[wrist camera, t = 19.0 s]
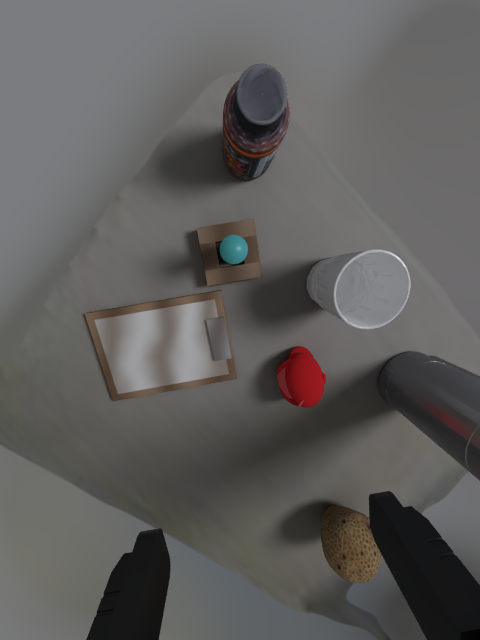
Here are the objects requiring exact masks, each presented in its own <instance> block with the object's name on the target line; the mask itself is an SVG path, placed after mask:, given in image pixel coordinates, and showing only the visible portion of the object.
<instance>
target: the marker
mask: <svg viewBox="0 0 480 640" xmlns="http://www.w3.org/2000/svg"><path fill="white" fill-rule="evenodd" d="M247 253H248V246H247V243H246V241H245V240H244V239H243V238H242V237H240V236H238V235H229V236H227V237H226V238H224V239H223V241H222V242H221V244H220V254H221V257H222V258H223V260H224V261H226V262H227V263H230V264H238V263H240V262H242V261H243V260H244V259H245V258H246V256H247Z"/></svg>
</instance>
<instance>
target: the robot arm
mask: <svg viewBox="0 0 480 640" xmlns="http://www.w3.org/2000/svg"><path fill="white" fill-rule="evenodd" d="M378 385H379V391H380V393H381V395H382V397H383V398H384V399H385V400H386V401H387V402H388V403H389V404H391V405H392V406H393V407H394V408H395V409H396V410H398V411H399V412H400V413H401V414H402V415H403V416H404V417H406V418H407V419H408V420H409V421H410V422H411V423H413V424H414V425H415V426H416V427H417V428H419V429H420V430H421V431H422V432H423V433H424V434H426V435H427V436H428V437H429V438H430V439H431V440H433V441H434V442H435V443H436V444H437V445H438V446H440V447H441V448H442V449H443V450H444V451H445V452H447V453H448V454H449V455H450V456H451V457H452V458H454V459H455V460H456V461H457V462H458V463H460V464H461V465H462V466H463V467H464V468H465V469H467V470H468V471H469V472H470V473H471V474H472V475H474V476H475V477H476V478H477V479H478V480H480V376H478V375H476V374H474V373H472V372H469V371H467V370H465V369H463V368H460V367H458V366H456V365H454V364H451V363H449V362H447V361H445V360H443V359H440V358H438V357H436V356H432V357H429V356H427V355H425V354H423V353H419V352H405V353H402V354H399V355H397V356H396V357H394V358H392V359H391V360H390V361H389V362H388V363H387V364H386V365H385V367H384V368H383V370H382V372H381V374H380V377H379V384H378ZM369 515H370V528H371V532H372V535H373V538H374V540H375V543H376V545H377V547H378V549H379V551H380V552H381V554H382V556H383V558H384V560H385V562H386V564H387V565H388V567H389V569H390V571H391V573H392V575H393V577H394V579H395V580H396V582H397V584H398V586H399V588H400V590H401V592H402V594H403V595H404V597H405V599H406V601H407V603H408V605H409V606H410V609H411V610H412V612H413V614H414V616H415V618H416V620H417V622H418V623H419V625H420V627H421V629H422V631H423V633H424V635H425V637H426V638H427V640H480V585H479V584H478V583H477V581H476V580H475V579H474V577H473V576H472V575H471V574H470V572H469V571H468V570H467V569H466V567H465V566H464V565H463V564H462V562H461V561H460V560H459V558H458V557H457V556H455V555H454V553H453V551H452V550H451V548H450V547H449V546H448V544H447V543H446V542H445V541H444V540H443V539H442V537H441V536H440V534H439V533H438V532H437V530H436V529H435V528H434V527H433V526H432V524H431V523H430V522H429V520H428V519H427V518H425V517H424V516H423V515H422V514H420V513H419V512H418V511H417V510H415V509H414V508H413V507H412V506H409V507H403V506H402V505H401V504H400V502H399V501H398V500H397V498H396V497H395V496H394V494H393V493H392V492H390V491H387V492H381V493H375V494H370V495H369ZM169 578H170V557H169V553H168V549H167V546H166V542H165V538H164V535H163V531H162V529H154V530H148V531H142V532H140V533H139V535H138V537H137V539H136V543H135V546H134V549H133V552H131V553H125V554H123V556H122V557H121V559H120V560H119V562H118V563H117V565H116V566H115V568H114V569H113V571H112V572H111V575H110V578H109V580H108V583H107V586H106V589H105V591H104V597H103V598H102V599H101V602H100V605H99V607H98V610H97V615H96V617H95V618H94V621H93V624H92V626H91V629H90V632H89V634H88V637H87V640H159V634H160V629H161V623H162V618H163V612H164V606H165V601H166V596H167V590H168V585H169Z"/></svg>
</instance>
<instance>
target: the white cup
mask: <svg viewBox="0 0 480 640" xmlns="http://www.w3.org/2000/svg"><path fill="white" fill-rule="evenodd" d="M306 288H307V291H308V293H309V296H310V298H311V299H312V300H313V301H314V302H316V303H317V304H318V305H320V306H321V307H322V308H323V309H325V310H326V311H328V312H329V313H331V314H332V315H334V316H336V317H338V318H339V319H341V320H343V321H344V322H346V323H347V324H349V325H351V326H353V327H356V328H359V329H374V328H378V327H381V326H383V325H385V324H387V323H389V322H390V321H392V320H393V319H394V318H395V317H396V316H397V315H398V314H399V313H400V312H401V310H402V309H403V307H404V306H405V304H406V302H407V299H408V296H409V293H410V276H409V272H408V270H407V267H406V266H405V264H404V263H403V261H402V260H401V259H400V258H399V257H397V256H396V255H395V254H393V253H391V252H388V251H384V250H369V251H363V252H356V253H349V254H343V255H338V256H334V257H331V258H327V259H323V260H321V261H319V262H318V263H317V264H316V265H314V266H313V267H312V269H311V271H310V273H309V275H308V276H307V287H306Z"/></svg>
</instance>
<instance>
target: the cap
mask: <svg viewBox="0 0 480 640" xmlns="http://www.w3.org/2000/svg"><path fill="white" fill-rule="evenodd" d="M277 379H278V383H279V387H280V392H281V394H282V396H283V397H284V398H285V399H286V400H287V401H288V402H290V403H291V404H293V405H296V406H297V407H300V406H302V407H312V406H314V405H316V404H317V403H318V402H319V401H320V399H321V397H322V395H323V391H324V384H325V382H326V375H325V374H324V373H322V371H321V368H320V366H319V364H318V363H317V362H316V360H315V359H314V358H313V356H312V354H311V353H310V351H309V350H307V349H306V348H304V347H300V346H299V347H295V348H294V349H292V351H291V352H290V354H289V359H288V360H286V361H284V362H283V363H282V364H280V365H279V367H278V369H277Z"/></svg>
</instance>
